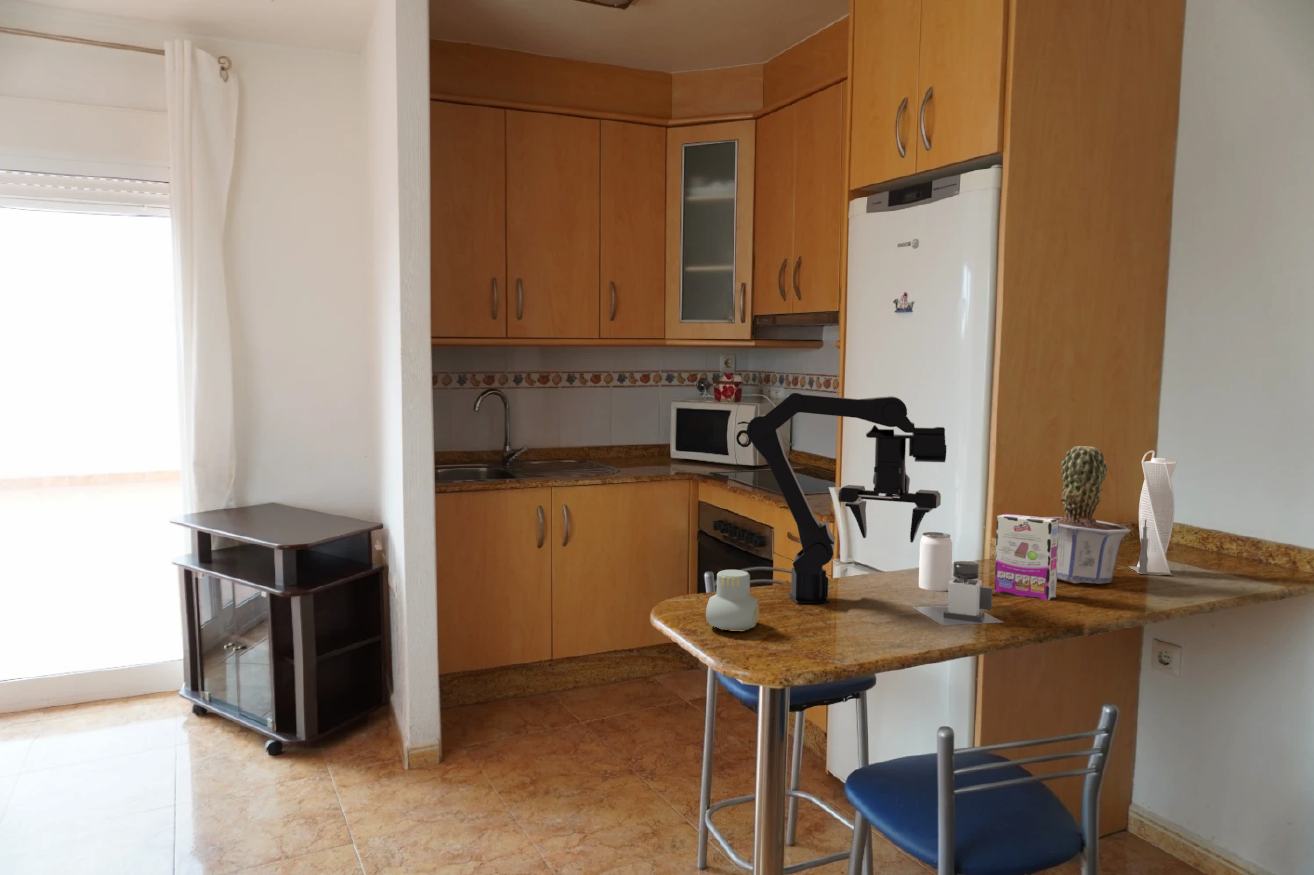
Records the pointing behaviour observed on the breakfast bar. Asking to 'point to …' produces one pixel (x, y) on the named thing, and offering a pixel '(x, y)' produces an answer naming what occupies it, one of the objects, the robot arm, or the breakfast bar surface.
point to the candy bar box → (1026, 556)
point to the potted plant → (1085, 521)
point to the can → (935, 561)
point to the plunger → (965, 570)
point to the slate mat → (938, 616)
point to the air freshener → (732, 602)
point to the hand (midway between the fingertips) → (888, 539)
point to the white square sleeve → (968, 600)
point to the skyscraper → (1155, 515)
